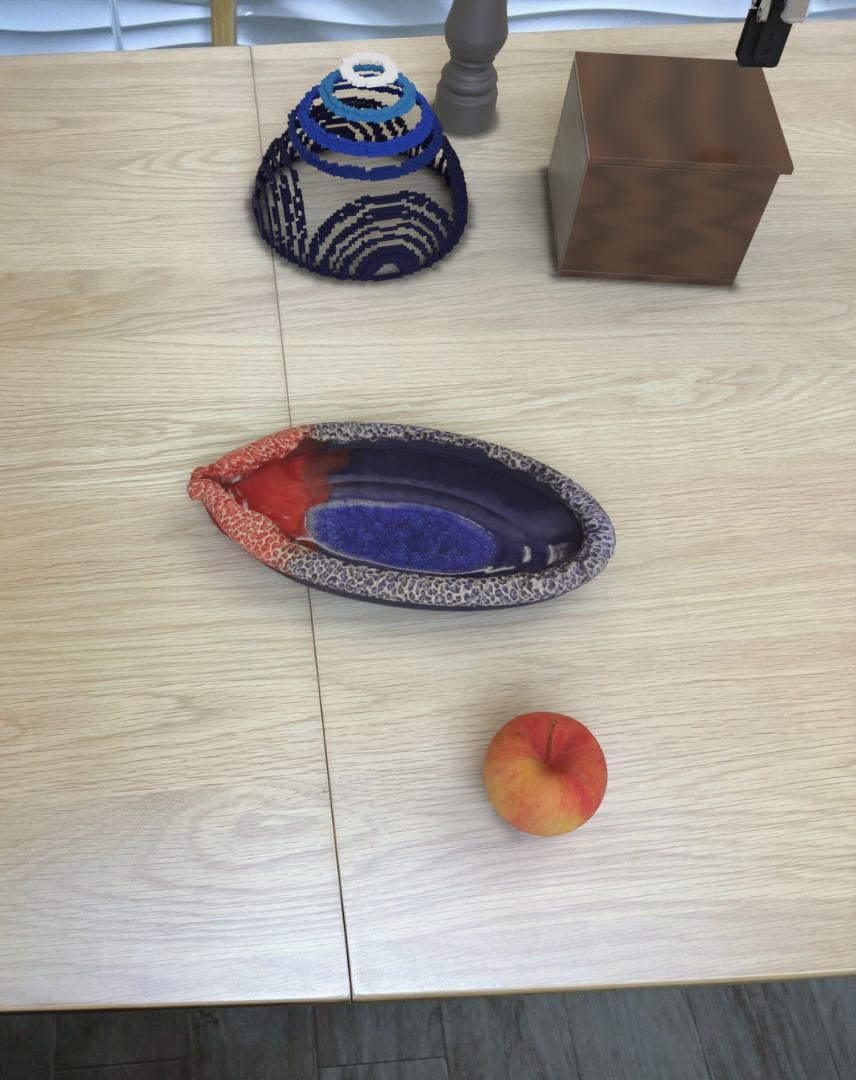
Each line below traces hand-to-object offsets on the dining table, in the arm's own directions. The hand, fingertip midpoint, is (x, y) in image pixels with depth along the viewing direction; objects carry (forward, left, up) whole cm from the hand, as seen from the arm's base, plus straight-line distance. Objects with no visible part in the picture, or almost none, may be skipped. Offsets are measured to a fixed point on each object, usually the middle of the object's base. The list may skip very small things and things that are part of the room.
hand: (755, 61), depth 89 cm
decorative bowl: (+31, 0, -17) cm, 36 cm away
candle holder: (+21, -16, -17) cm, 32 cm away
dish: (+27, +38, -17) cm, 50 cm away
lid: (+5, 0, -5) cm, 7 cm away
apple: (+18, +58, -17) cm, 63 cm away
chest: (+5, 0, -17) cm, 18 cm away
